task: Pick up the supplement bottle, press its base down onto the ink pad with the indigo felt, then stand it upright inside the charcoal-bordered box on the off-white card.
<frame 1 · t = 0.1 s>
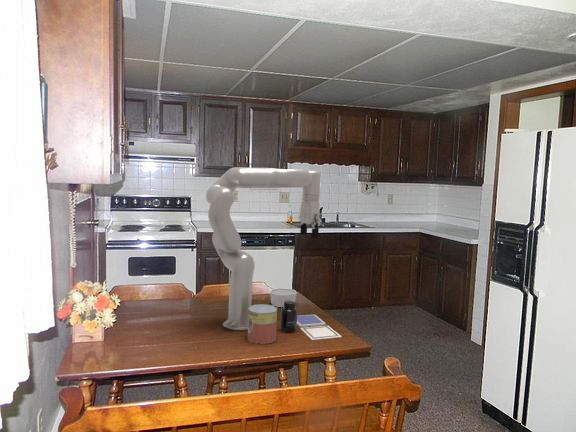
hand: (309, 236, 195), 37 cm above the table, tool pointing down, fingers open, 9 cm apart
marked card: (320, 332, 178), on the table
ink pad: (307, 321, 191), on the table
supplement bottle: (288, 330, 180), on the table
ramekin: (282, 305, 214), on the table
canned food: (261, 338, 170), on the table
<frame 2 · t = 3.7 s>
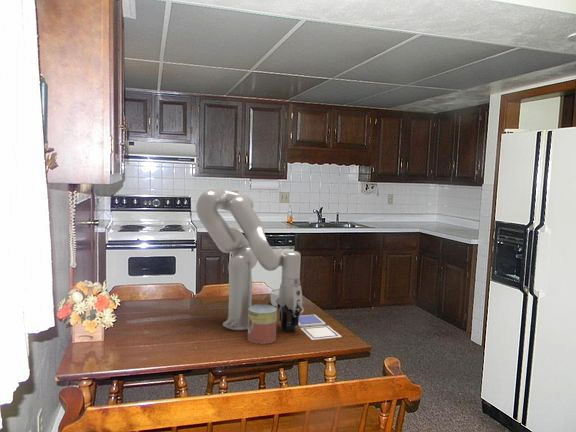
hand: (288, 322, 180), 3 cm above the table, tool pointing down, fingers closed on supplement bottle, 6 cm apart
supplement bottle: (288, 330, 180), on the table, touching gripper
everything else where it was.
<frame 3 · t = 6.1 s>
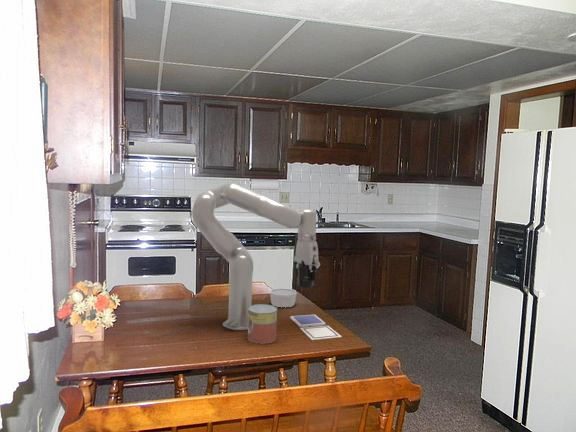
hand: (305, 278, 186), 20 cm above the table, tool pointing down, fingers closed on supplement bottle, 6 cm apart
supplement bottle: (305, 286, 187), point 17 cm above the table, touching gripper
everything else where it was.
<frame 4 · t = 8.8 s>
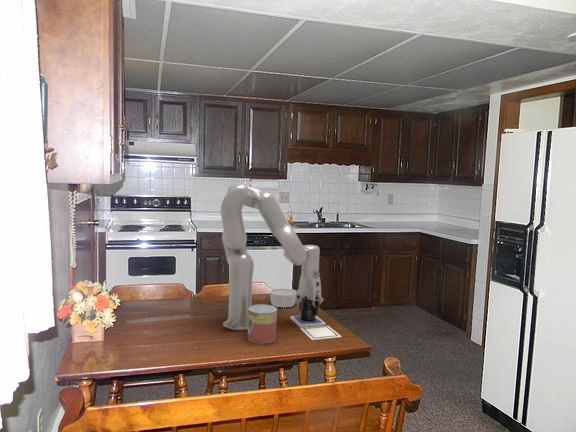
hand: (308, 312, 191), 4 cm above the table, tool pointing down, fingers closed on supplement bottle, 6 cm apart
supplement bottle: (307, 319, 191), point 1 cm above the table, touching gripper, ink pad
everything else where it was.
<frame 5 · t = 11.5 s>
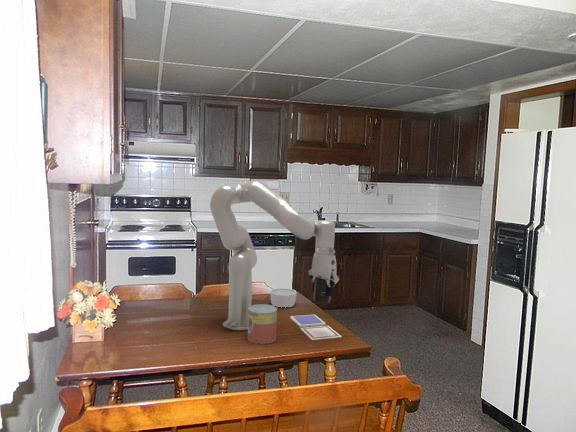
hand: (322, 293, 177), 17 cm above the table, tool pointing down, fingers closed on supplement bottle, 6 cm apart
supplement bottle: (322, 301, 177), point 13 cm above the table, touching gripper
everything else where it was.
when the fingers open (5 cm above the table, at t = 14.1 s): supplement bottle drops 1 cm, resting on marked card.
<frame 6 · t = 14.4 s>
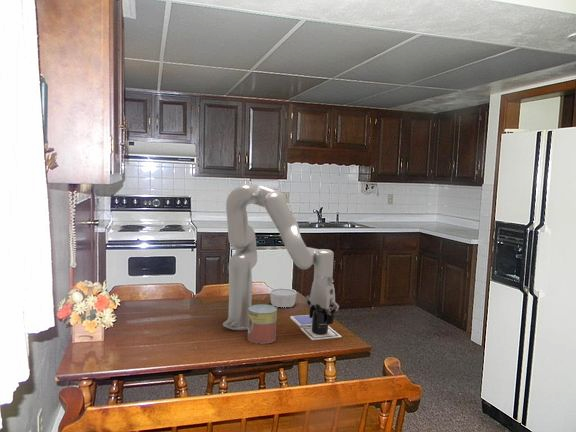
hand: (321, 320, 178), 5 cm above the table, tool pointing down, fingers open, 9 cm apart
supplement bottle: (319, 332, 178), resting on marked card
everything else where it was.
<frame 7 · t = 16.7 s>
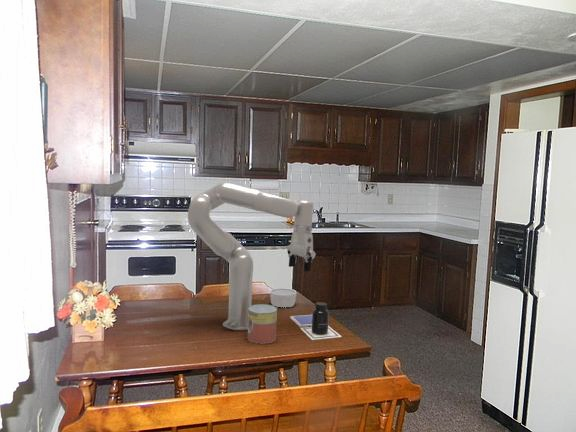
hand: (299, 268, 185), 25 cm above the table, tool pointing down, fingers open, 9 cm apart
nothing on the table moved.
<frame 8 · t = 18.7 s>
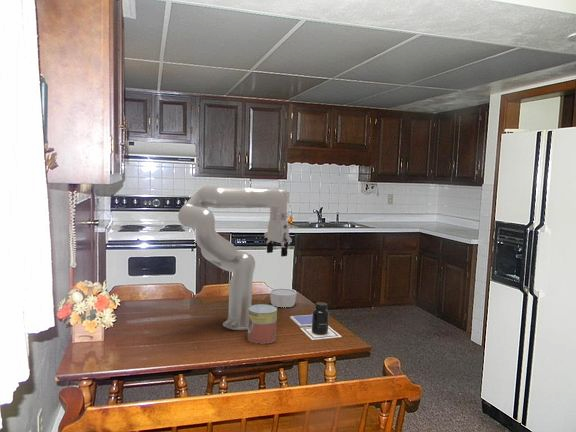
hand: (276, 254, 196), 28 cm above the table, tool pointing down, fingers open, 9 cm apart
nothing on the table moved.
at the end: supplement bottle 0.3 cm off-centre on the marked card, point 0.1 cm above the marked card's base; supplement bottle tilted 0°; the gripper is holding nothing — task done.
